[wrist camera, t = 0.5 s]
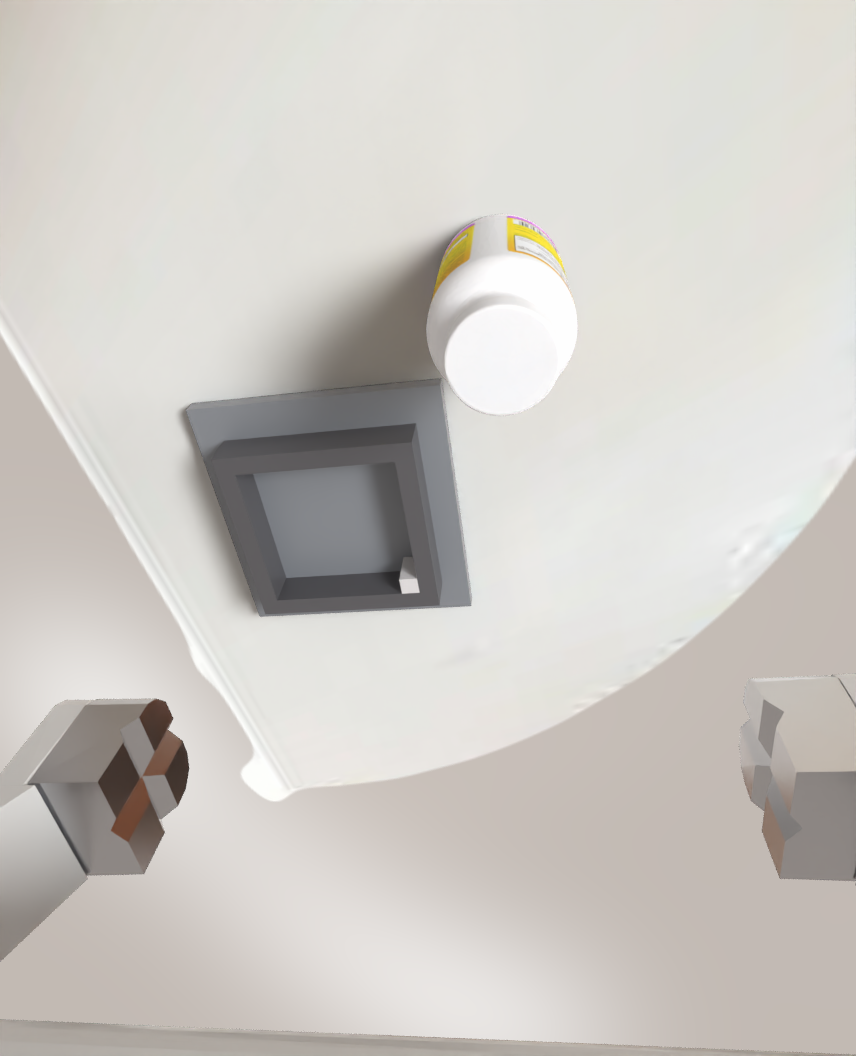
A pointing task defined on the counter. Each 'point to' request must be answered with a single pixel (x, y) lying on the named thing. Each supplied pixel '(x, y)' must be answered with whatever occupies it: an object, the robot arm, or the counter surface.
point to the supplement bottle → (501, 315)
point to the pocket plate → (339, 497)
